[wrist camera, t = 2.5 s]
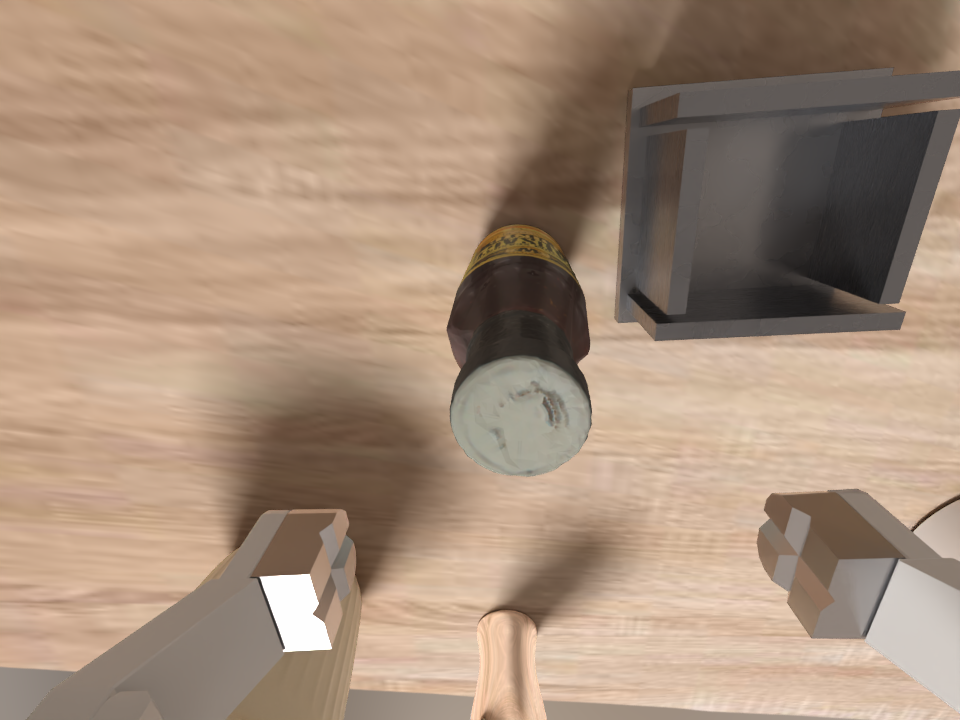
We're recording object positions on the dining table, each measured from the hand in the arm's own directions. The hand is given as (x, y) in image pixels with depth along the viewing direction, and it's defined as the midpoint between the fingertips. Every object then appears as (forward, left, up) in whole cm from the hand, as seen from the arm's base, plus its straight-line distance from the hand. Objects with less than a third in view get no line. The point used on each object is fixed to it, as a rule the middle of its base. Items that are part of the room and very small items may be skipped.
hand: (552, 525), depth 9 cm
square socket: (-14, -3, -24) cm, 28 cm away
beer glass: (+2, +37, -24) cm, 44 cm away
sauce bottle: (0, 0, -24) cm, 24 cm away
